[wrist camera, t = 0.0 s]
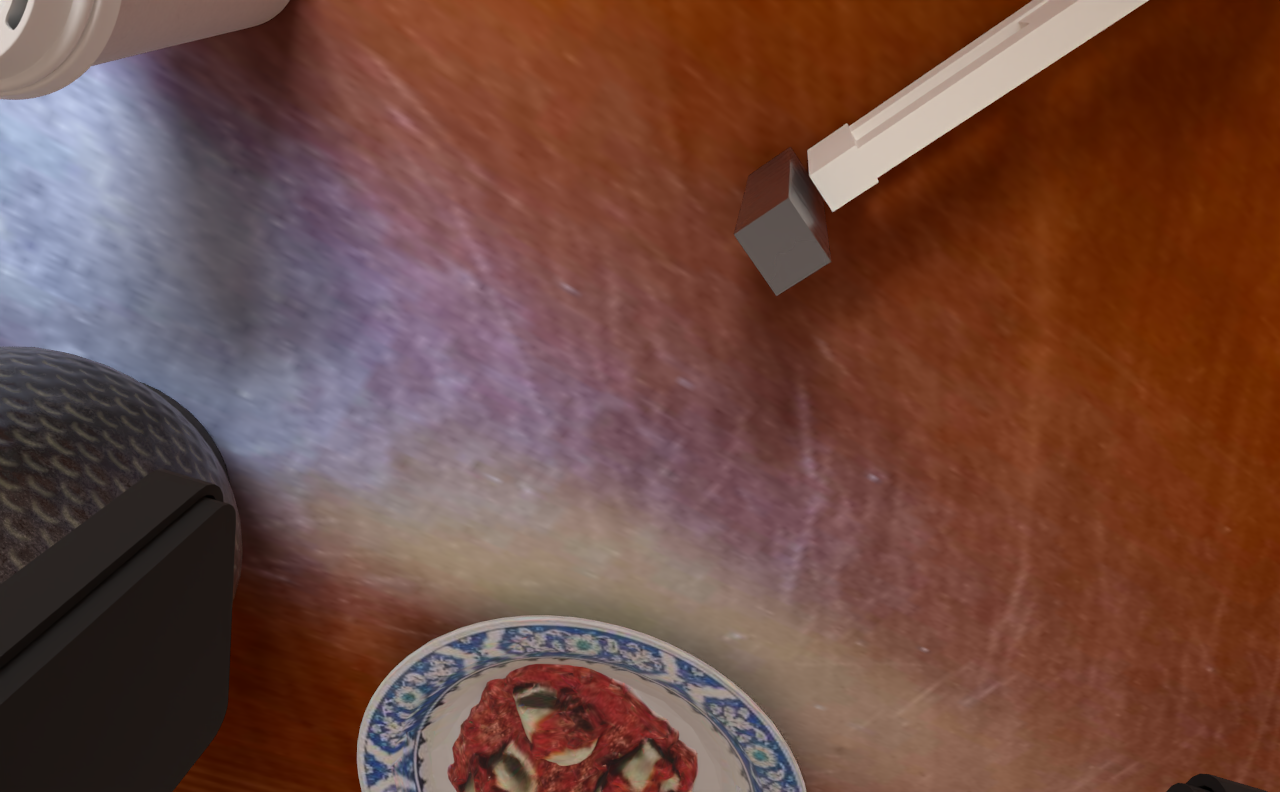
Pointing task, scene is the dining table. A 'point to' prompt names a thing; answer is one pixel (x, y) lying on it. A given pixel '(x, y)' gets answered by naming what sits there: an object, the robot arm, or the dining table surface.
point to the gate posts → (783, 222)
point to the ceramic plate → (565, 716)
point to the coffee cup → (105, 34)
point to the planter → (85, 448)
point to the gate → (955, 92)
